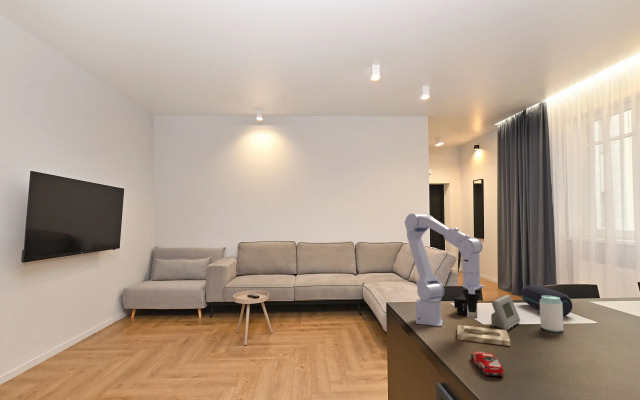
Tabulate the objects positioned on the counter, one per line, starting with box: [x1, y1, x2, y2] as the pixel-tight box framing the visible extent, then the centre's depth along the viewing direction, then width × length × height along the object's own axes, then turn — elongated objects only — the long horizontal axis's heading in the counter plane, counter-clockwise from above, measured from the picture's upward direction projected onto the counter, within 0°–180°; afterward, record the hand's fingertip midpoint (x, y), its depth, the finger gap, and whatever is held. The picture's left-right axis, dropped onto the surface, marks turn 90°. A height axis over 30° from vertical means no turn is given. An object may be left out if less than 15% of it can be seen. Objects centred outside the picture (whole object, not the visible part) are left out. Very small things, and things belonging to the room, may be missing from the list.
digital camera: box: [453, 294, 467, 317], centre depth 150 cm, size 10×5×7 cm, turn 146°
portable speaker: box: [520, 284, 573, 317], centre depth 153 cm, size 25×10×10 cm, turn 0°
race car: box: [470, 351, 505, 377], centre depth 94 cm, size 13×5×4 cm, turn 171°
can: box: [539, 296, 565, 333], centre depth 126 cm, size 7×7×12 cm
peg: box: [466, 305, 478, 320], centre depth 120 cm, size 3×3×8 cm
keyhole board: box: [456, 324, 511, 347], centre depth 118 cm, size 16×12×2 cm
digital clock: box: [490, 294, 521, 331], centre depth 132 cm, size 16×9×11 cm, turn 123°
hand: (472, 310), depth 120 cm, fingers closed on peg, 3 cm apart
